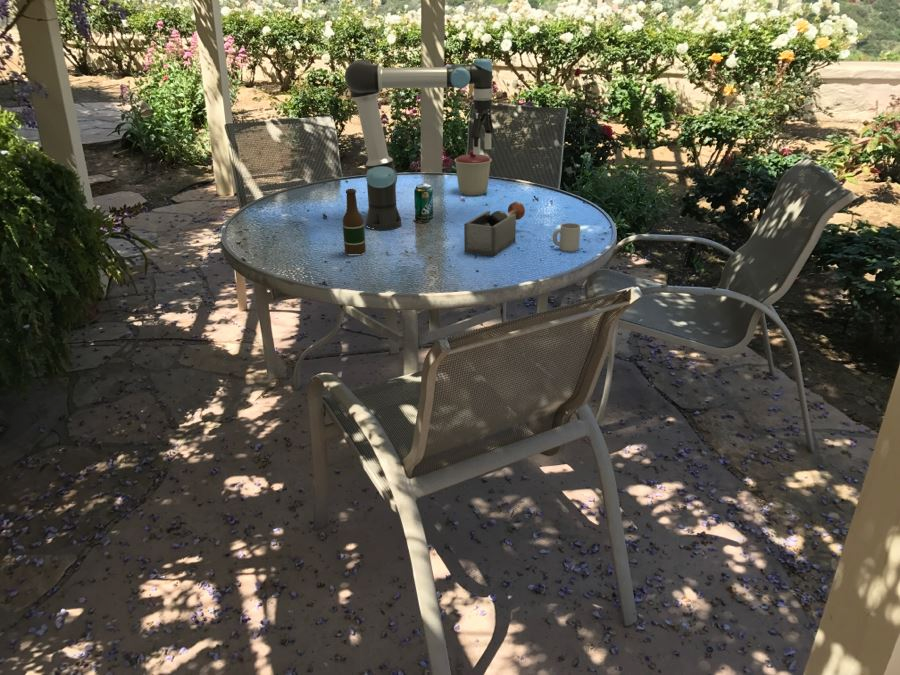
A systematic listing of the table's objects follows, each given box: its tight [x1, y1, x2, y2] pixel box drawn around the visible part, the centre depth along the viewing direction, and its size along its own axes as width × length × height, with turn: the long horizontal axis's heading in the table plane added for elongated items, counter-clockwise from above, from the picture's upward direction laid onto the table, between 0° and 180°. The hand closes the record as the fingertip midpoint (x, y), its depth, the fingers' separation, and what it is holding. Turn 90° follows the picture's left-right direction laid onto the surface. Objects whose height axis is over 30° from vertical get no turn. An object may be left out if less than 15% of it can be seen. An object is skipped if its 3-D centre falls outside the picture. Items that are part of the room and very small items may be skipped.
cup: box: [552, 222, 581, 253], centre depth 262 cm, size 7×10×9 cm
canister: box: [453, 149, 493, 197], centre depth 340 cm, size 18×18×21 cm
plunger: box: [489, 201, 526, 226], centre depth 277 cm, size 18×8×8 cm, turn 152°
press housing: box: [463, 210, 517, 258], centre depth 265 cm, size 20×12×11 cm, turn 152°
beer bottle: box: [342, 188, 367, 255], centre depth 258 cm, size 8×8×24 cm
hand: (482, 151), depth 298 cm, fingers open, 13 cm apart
